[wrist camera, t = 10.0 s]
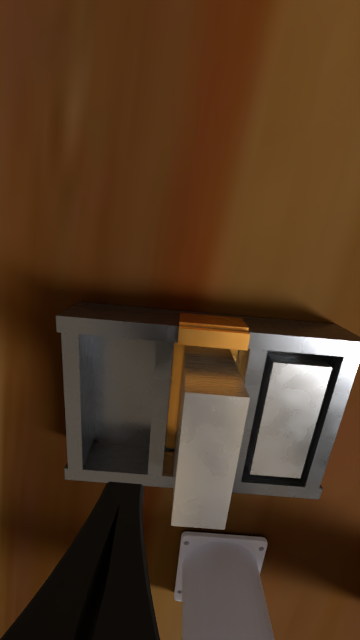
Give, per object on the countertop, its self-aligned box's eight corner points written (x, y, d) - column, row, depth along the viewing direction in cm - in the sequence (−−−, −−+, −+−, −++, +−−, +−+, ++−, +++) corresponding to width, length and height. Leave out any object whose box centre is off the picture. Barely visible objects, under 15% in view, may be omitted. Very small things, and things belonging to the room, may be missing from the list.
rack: (298, 459, 22) (321, 503, 18) (83, 442, 22) (63, 483, 18) (336, 321, 18) (374, 341, 15) (79, 298, 18) (52, 313, 14)
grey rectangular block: (212, 447, 20) (224, 529, 14) (174, 444, 20) (170, 525, 14) (228, 346, 18) (250, 397, 12) (184, 342, 18) (185, 392, 12)
